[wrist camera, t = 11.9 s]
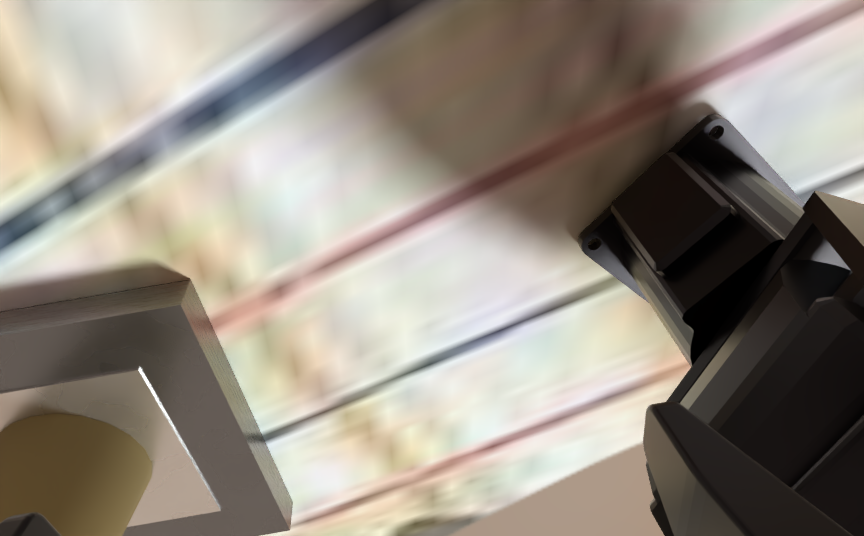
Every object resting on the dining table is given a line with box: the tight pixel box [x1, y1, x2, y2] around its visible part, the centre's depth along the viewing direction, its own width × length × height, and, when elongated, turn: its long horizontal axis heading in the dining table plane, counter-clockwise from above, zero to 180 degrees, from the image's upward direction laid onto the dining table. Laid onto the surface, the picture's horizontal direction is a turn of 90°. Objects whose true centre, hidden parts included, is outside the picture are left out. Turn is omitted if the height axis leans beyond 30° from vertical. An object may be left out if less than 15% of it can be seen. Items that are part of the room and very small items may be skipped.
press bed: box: [0, 280, 293, 536], centre depth 25 cm, size 14×14×2 cm
